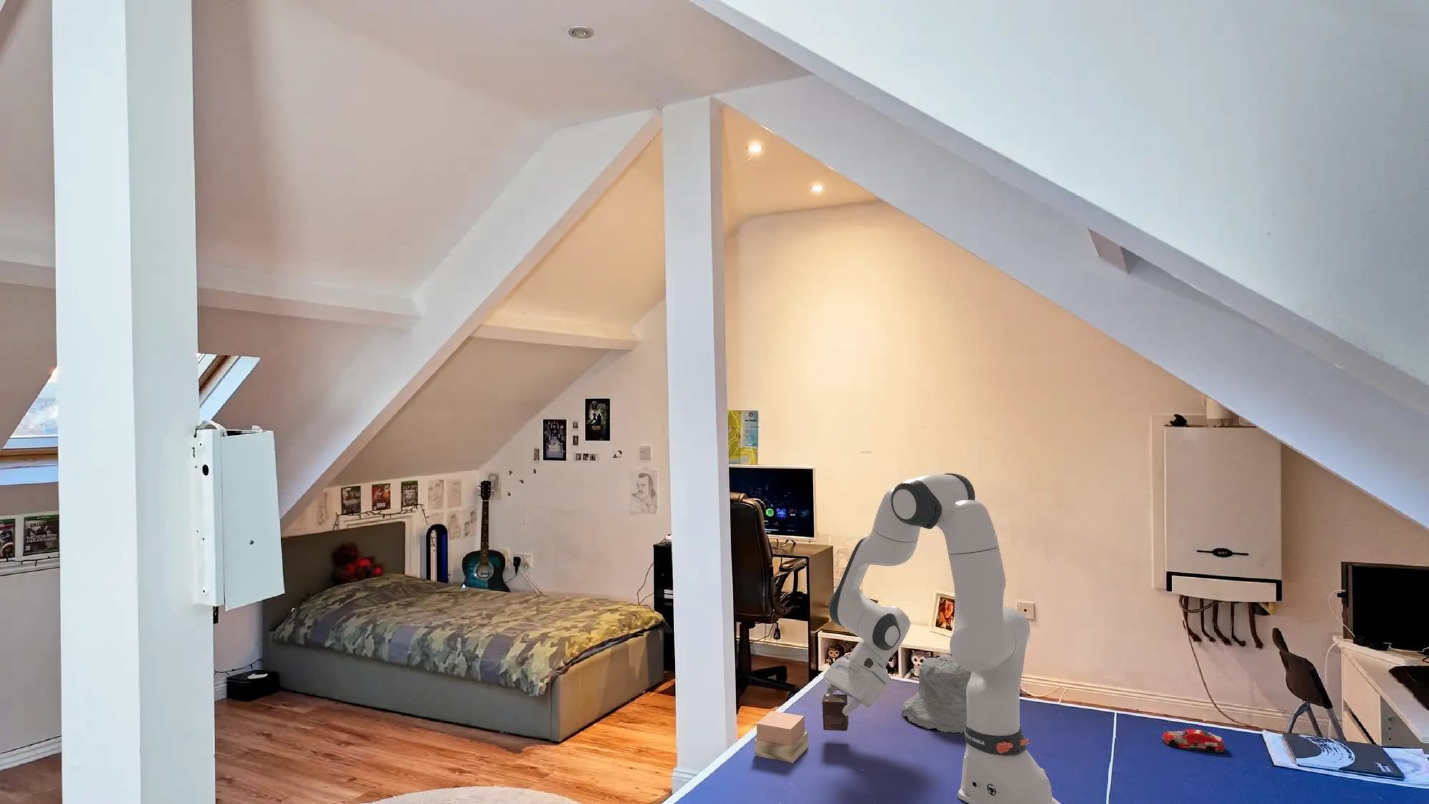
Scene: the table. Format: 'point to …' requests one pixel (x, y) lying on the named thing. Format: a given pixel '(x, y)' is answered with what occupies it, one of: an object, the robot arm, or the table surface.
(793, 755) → the tower base
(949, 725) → the hat
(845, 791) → the table surface
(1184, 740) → the race car
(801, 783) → the table surface
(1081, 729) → the table surface
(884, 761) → the table surface
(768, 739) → the tower top
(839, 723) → the box
